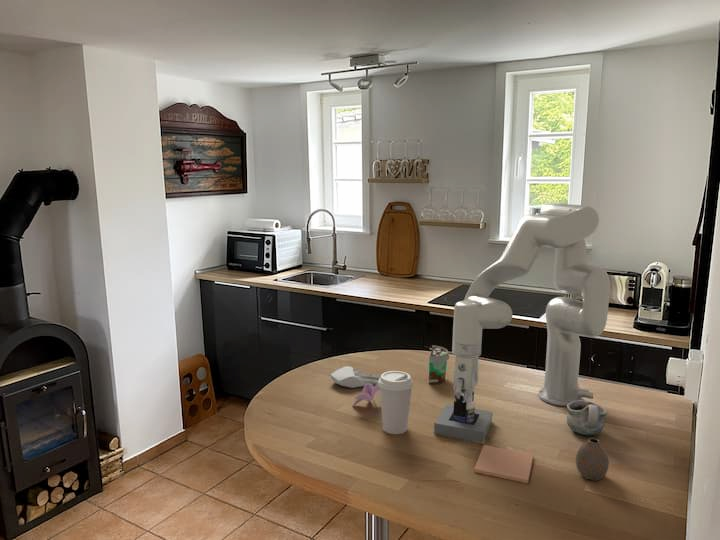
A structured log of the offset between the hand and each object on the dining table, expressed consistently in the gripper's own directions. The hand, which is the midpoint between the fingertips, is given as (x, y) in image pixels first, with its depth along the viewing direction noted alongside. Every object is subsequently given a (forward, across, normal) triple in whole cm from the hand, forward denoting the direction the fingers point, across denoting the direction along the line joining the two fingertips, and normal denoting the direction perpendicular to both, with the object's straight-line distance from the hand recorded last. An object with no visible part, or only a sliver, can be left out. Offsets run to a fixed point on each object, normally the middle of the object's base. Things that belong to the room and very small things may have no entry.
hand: (463, 408), depth 147 cm
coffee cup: (+6, -8, +17) cm, 19 cm away
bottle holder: (+6, 0, 0) cm, 6 cm away
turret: (+6, +18, +38) cm, 42 cm away
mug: (+6, +9, -31) cm, 33 cm away
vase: (+6, -12, -32) cm, 35 cm away
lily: (+6, +2, +28) cm, 29 cm away
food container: (+6, +31, +15) cm, 35 cm away
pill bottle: (+6, 0, 0) cm, 6 cm away
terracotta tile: (+6, -15, -13) cm, 21 cm away
